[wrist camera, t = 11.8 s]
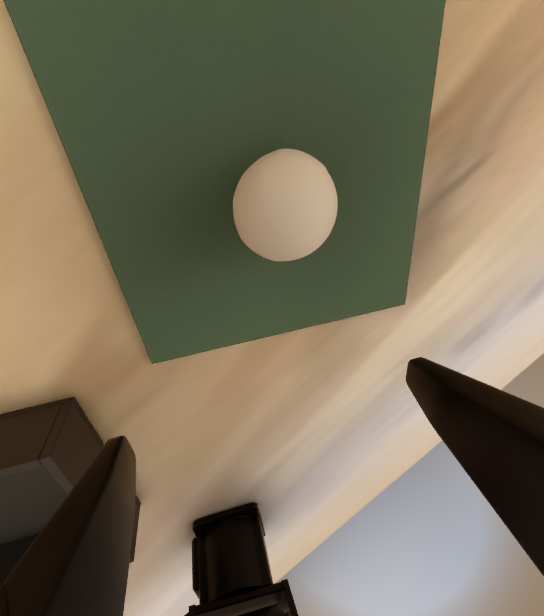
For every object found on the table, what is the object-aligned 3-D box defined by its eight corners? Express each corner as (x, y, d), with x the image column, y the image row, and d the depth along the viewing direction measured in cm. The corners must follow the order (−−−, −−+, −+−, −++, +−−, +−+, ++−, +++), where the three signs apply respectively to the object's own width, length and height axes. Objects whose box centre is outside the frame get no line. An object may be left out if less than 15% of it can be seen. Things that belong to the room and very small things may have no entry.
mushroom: (250, 126, 15) (276, 125, 11) (330, 173, 17) (379, 188, 13) (211, 222, 17) (220, 254, 12) (288, 255, 19) (318, 292, 14)
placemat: (446, -51, 14) (453, -56, 13) (401, 301, 23) (405, 304, 23) (-5, -29, 11) (-11, -34, 11) (152, 360, 20) (152, 364, 20)
